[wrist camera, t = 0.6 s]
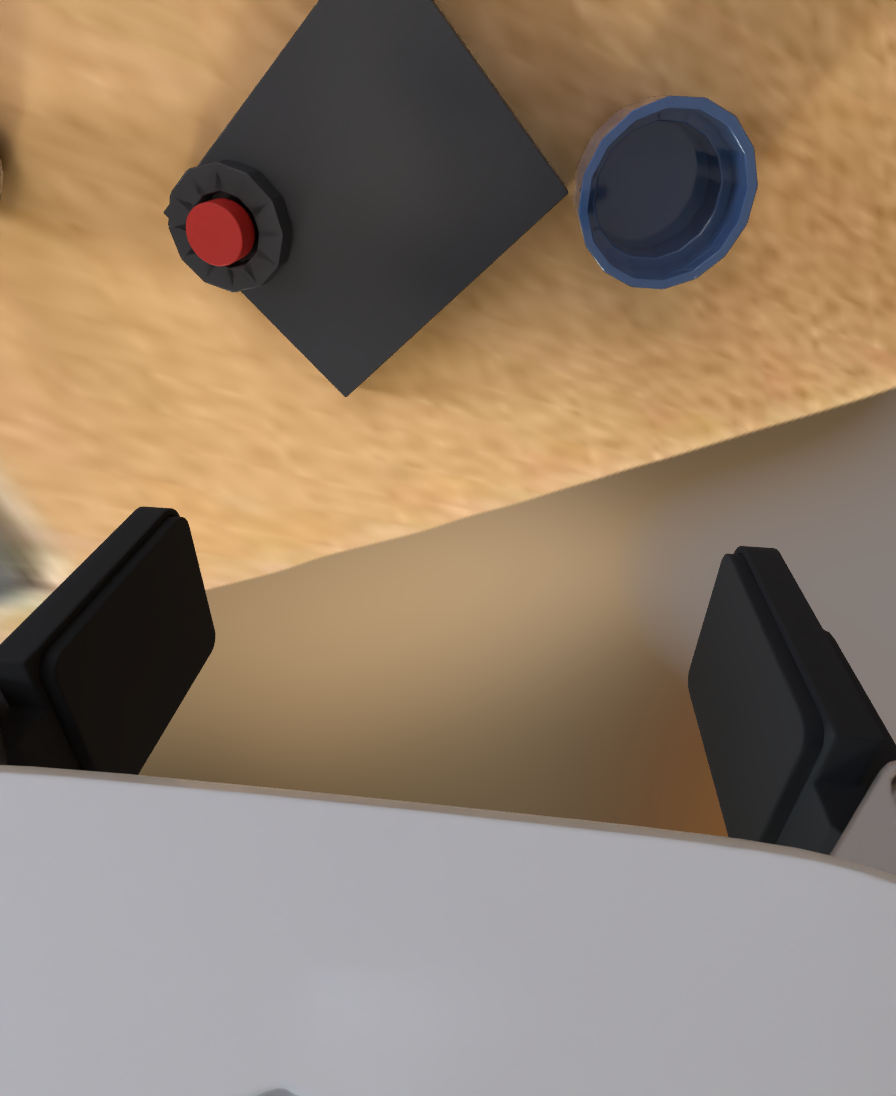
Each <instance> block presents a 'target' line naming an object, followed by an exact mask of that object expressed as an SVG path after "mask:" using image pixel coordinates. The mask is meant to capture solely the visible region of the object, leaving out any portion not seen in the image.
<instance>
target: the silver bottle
mask: <svg viewBox="0 0 896 1096" xmlns="http://www.w3.org/2000/svg"><path fill="white" fill-rule="evenodd" d="M2 189H3V169H2V163H1V159H0V199H1V194H2Z"/></svg>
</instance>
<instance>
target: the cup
mask: <svg viewBox="0 0 896 1096" xmlns="http://www.w3.org/2000/svg"><path fill="white" fill-rule="evenodd" d="M757 185H758V183H757V172H756V161H755V150H754V146H753V145H752V143H751V141H750V139H749V138H748V136H747V134H746V132H745V131H744V129H743V127H742V125H741V124H740V122H739V120H738V118H737V117H736V116H735V115H733V114H732V113H730V112H729V111H727V110H725V109H724V108H722V107H721V106H719V105H717V104H716V103H714V102H712V101H711V100H709V99H708V98H705V97H688V96H653V97H648V98H646V99H643V100H641V101H638V102H636V103H633V104H631V105H628V106H626V107H623V108H621V109H620V110H618V111H617V112H616V113H615V114H613V115H612V116H611V117H610V118H609V119H608V120H607V121H606V122H605V123H604V124H603V125H602V126H601V127H600V128H599V129H598V130H597V131H596V132H595V133H594V134H593V135H592V137H591V139H590V141H589V143H588V145H587V147H586V149H585V151H584V153H583V155H582V157H581V159H580V161H579V163H578V166H577V169H576V177H575V184H574V191H573V203H574V208H575V212H576V217H577V221H578V226H579V229H580V232H581V234H582V238H583V240H584V243H585V245H586V248H587V249H588V250H589V252H590V253H591V255H592V256H593V257H594V259H595V260H596V261H597V263H598V264H599V266H600V267H601V268H602V270H603V271H604V272H605V273H607V274H609V275H610V276H612V277H614V278H616V279H618V280H619V281H621V282H623V283H625V284H627V285H628V286H630V287H631V286H632V287H638V288H651V289H666V288H669V287H672V286H675V285H678V284H681V283H684V282H687V281H691V280H694V279H695V278H697V277H699V276H700V275H701V274H703V273H704V272H705V271H707V270H708V269H709V268H711V267H712V266H713V265H714V264H716V263H717V262H718V261H720V260H721V259H722V258H724V257H725V255H726V254H727V253H728V251H729V250H730V248H731V247H732V245H733V244H734V243H735V241H736V240H737V238H738V237H739V235H740V234H741V232H742V231H743V229H744V228H745V226H746V225H747V223H748V219H749V216H750V212H751V208H752V205H753V201H754V198H755V194H756V190H757Z"/></svg>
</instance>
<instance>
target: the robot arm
mask: <svg viewBox="0 0 896 1096" xmlns="http://www.w3.org/2000/svg"><path fill="white" fill-rule="evenodd" d="M214 643H215V629H214V626H213V621H212V617H211V613H210V609H209V605H208V601H207V597H206V593H205V589H204V584H203V580H202V576H201V572H200V568H199V564H198V560H197V556H196V552H195V548H194V544H193V540H192V535H191V531H190V527H189V524H188V521H187V520H186V519H185V518H183V517H180V516H179V514H178V513H177V511H176V510H174V509H171V508H156V507H139V508H138V509H136V510H135V511H134V512H133V513H132V514H131V515H130V516H129V517H128V518H127V519H126V520H125V521H124V522H123V523H122V524H121V525H120V526H119V527H118V528H117V529H116V530H115V531H114V532H113V533H112V534H111V535H110V536H109V537H108V538H107V539H106V540H105V541H104V542H103V543H102V544H101V545H100V546H99V547H98V548H97V549H96V550H95V551H94V552H93V553H92V554H91V555H90V556H89V557H88V558H87V559H86V560H85V561H84V562H83V563H82V564H81V565H80V566H79V567H78V568H77V569H76V570H75V571H74V572H73V573H72V574H71V575H70V576H69V577H68V578H67V579H66V580H65V581H64V582H63V583H62V584H61V585H60V586H59V587H58V588H57V589H56V590H55V591H54V592H53V593H52V594H51V595H50V596H49V597H48V598H47V599H46V600H45V601H44V602H43V603H42V604H41V605H40V606H39V607H38V608H37V609H36V610H35V611H34V612H33V613H32V614H31V615H30V616H29V617H27V618H26V619H25V620H24V621H23V622H22V623H21V624H20V625H19V626H18V627H17V628H16V629H15V630H14V631H13V632H12V633H11V634H10V635H9V636H8V637H7V638H6V639H5V640H4V641H3V642H2V643H1V644H0V1096H896V744H895V743H894V741H893V739H892V738H891V736H890V734H889V733H888V731H887V729H886V727H885V725H884V724H883V722H882V720H881V719H880V717H879V715H878V713H877V712H876V710H875V708H874V706H873V705H872V703H871V701H870V699H869V698H868V696H867V694H866V693H865V691H864V689H863V687H862V686H861V684H860V682H859V680H858V679H857V677H856V675H855V673H854V672H853V670H852V668H851V667H850V665H849V663H848V661H847V660H846V658H845V656H844V655H843V653H842V651H841V649H840V648H839V646H838V644H837V642H836V641H835V639H834V638H833V637H832V635H831V634H830V633H829V632H827V631H825V630H823V628H822V627H821V625H820V623H819V621H818V620H817V618H816V616H815V614H814V613H813V611H812V609H811V607H810V606H809V604H808V602H807V600H806V598H805V597H804V595H803V593H802V591H801V590H800V588H799V586H798V584H797V583H796V581H795V579H794V578H793V575H792V574H791V572H790V570H789V569H788V567H787V565H786V563H785V561H784V560H783V558H782V556H781V554H780V553H779V551H778V550H777V549H774V548H762V547H747V546H740V547H738V548H737V549H736V550H735V552H734V554H725V555H724V557H723V559H722V562H721V564H720V568H719V572H718V575H717V578H716V581H715V586H714V588H713V592H712V595H711V598H710V602H709V605H708V608H707V612H706V615H705V619H704V622H703V625H702V629H701V632H700V636H699V639H698V643H697V646H696V650H695V652H694V656H693V659H692V663H691V666H690V670H689V675H688V688H689V693H690V697H691V700H692V704H693V708H694V712H695V715H696V718H697V723H698V726H699V730H700V734H701V737H702V741H703V744H704V748H705V752H706V756H707V759H708V763H709V766H710V770H711V774H712V777H713V781H714V785H715V789H716V791H717V796H718V799H719V803H720V807H721V811H722V814H723V818H724V822H725V825H726V829H727V833H728V837H722V836H714V835H706V834H698V833H690V832H681V831H673V830H665V829H657V828H648V827H641V826H632V825H624V824H614V823H605V822H595V821H586V820H576V819H567V818H558V817H549V816H539V815H530V814H521V813H512V812H502V811H493V810H484V809H474V808H465V807H455V806H445V805H436V804H426V803H416V802H407V801H397V800H387V799H377V798H368V797H357V796H348V795H338V794H328V793H317V792H307V791H298V790H288V789H279V788H278V789H277V788H268V787H258V786H247V785H237V784H226V783H216V782H206V781H195V780H185V779H174V778H164V777H153V776H143V775H138V774H139V772H140V771H141V769H142V767H143V765H144V764H145V762H146V760H147V759H148V757H149V755H150V754H151V752H152V751H153V749H154V747H155V745H156V744H157V742H158V740H159V739H160V737H161V735H162V734H163V732H164V730H165V729H166V727H167V725H168V723H169V722H170V720H171V719H172V717H173V715H174V714H175V712H176V710H177V709H178V707H179V705H180V704H181V702H182V700H183V699H184V697H185V695H186V694H187V692H188V690H189V689H190V687H191V685H192V683H193V682H194V680H195V679H196V677H197V675H198V674H199V672H200V670H201V669H202V667H203V665H204V664H205V662H206V660H207V658H208V657H209V655H210V654H211V652H212V650H213V647H214Z"/></svg>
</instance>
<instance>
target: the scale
mask: <svg viewBox="0 0 896 1096" xmlns="http://www.w3.org/2000/svg"><path fill="white" fill-rule="evenodd" d="M567 194H568V190H567V188H566V186H565V185H564V184H563V182H562V181H561V179H560V178H559V177H558V175H557V174H556V172H555V171H554V169H553V168H552V167H551V165H550V164H549V162H548V161H547V160H546V158H545V157H544V155H543V154H542V153H541V151H540V150H539V148H538V147H537V146H536V144H535V143H534V141H533V140H532V138H531V137H530V136H529V134H528V133H527V131H526V130H525V129H524V127H523V126H522V124H521V123H520V122H519V120H518V119H517V117H516V116H515V115H514V113H513V112H512V110H511V109H510V107H509V106H508V105H507V103H506V102H505V100H504V99H503V98H502V96H501V95H500V93H499V92H498V91H497V89H496V88H495V86H494V85H493V84H492V82H491V81H490V79H489V78H488V76H487V75H486V74H485V72H484V71H483V69H482V68H481V67H480V65H479V64H478V62H477V61H476V60H475V58H474V57H473V55H472V54H471V53H470V51H469V50H468V48H467V47H466V45H465V44H464V43H463V41H462V40H461V38H460V37H459V36H458V34H457V33H456V31H455V30H454V29H453V27H452V26H451V24H450V23H449V22H448V20H447V19H446V17H445V16H444V14H443V13H442V12H441V10H440V9H439V7H438V6H437V5H436V3H435V2H434V0H319V1H318V2H317V4H316V5H315V7H314V8H313V9H312V11H311V12H310V13H309V15H308V16H307V17H306V19H305V20H304V22H303V23H302V24H301V26H300V27H299V28H298V30H297V31H296V32H295V34H294V35H293V37H292V38H291V39H290V41H289V42H288V43H287V45H286V46H285V47H284V49H283V50H282V52H281V53H280V54H279V56H278V57H277V58H276V60H275V61H274V62H273V64H272V65H271V67H270V68H269V69H268V71H267V72H266V73H265V75H264V76H263V77H262V79H261V80H260V82H259V83H258V84H257V86H256V87H255V88H254V90H253V91H252V92H251V94H250V95H249V97H248V98H247V99H246V101H245V102H244V103H243V105H242V106H241V107H240V109H239V110H238V112H237V113H236V114H235V116H234V117H233V118H232V120H231V121H230V122H229V124H228V125H227V127H226V128H225V129H224V131H223V132H222V133H221V135H220V136H219V137H218V139H217V140H216V142H215V143H214V144H213V146H212V147H211V148H210V150H209V151H208V152H207V154H206V155H205V157H204V158H203V159H202V161H201V162H200V163H199V165H198V166H197V167H194V168H190V169H188V170H187V171H186V172H185V174H184V175H183V176H182V178H181V179H180V181H179V182H178V183H177V185H176V186H175V187H174V189H173V190H172V192H171V194H170V204H169V206H168V207H167V208H166V210H165V211H164V214H165V215H166V216H167V217H168V218H169V222H168V225H169V230H170V232H171V235H172V237H173V240H174V242H175V245H176V247H177V249H178V252H179V254H180V257H181V258H182V260H183V261H184V262H185V263H186V264H187V265H188V266H189V267H190V268H191V269H192V270H193V271H194V272H195V273H196V274H197V275H198V276H199V277H200V278H201V279H202V280H203V281H204V282H206V283H208V284H211V285H214V286H217V287H220V288H222V289H225V290H228V291H231V292H239V291H241V292H242V293H243V294H244V295H245V296H246V297H247V298H248V299H249V300H250V301H251V302H252V303H253V304H254V305H255V306H256V307H257V308H258V309H259V310H260V311H261V312H262V313H263V314H264V315H265V316H266V317H267V318H268V319H269V320H270V321H271V322H272V323H273V324H274V325H275V326H276V327H277V328H278V329H279V330H280V332H281V333H282V334H283V335H284V336H285V337H286V338H287V339H288V340H289V341H290V342H291V343H292V344H293V345H294V346H295V347H296V348H297V349H298V350H299V351H300V352H301V353H302V354H303V355H304V356H305V357H306V358H307V359H308V360H309V361H310V362H311V363H312V364H313V365H314V366H315V367H316V368H317V369H318V370H319V371H320V372H321V373H322V374H323V375H324V376H325V377H326V378H327V379H328V380H329V381H330V382H331V383H332V384H333V385H334V386H335V387H336V388H337V389H338V390H339V391H340V392H341V393H342V394H343V395H344V396H345V397H347V396H348V395H349V394H350V393H351V392H353V391H354V390H355V389H356V388H357V387H358V386H359V385H360V384H361V383H362V382H363V381H364V380H366V379H367V378H368V377H369V376H370V375H371V374H372V373H373V372H374V371H375V370H376V369H378V368H379V367H380V366H381V365H382V364H383V363H384V362H385V361H386V360H387V359H388V358H390V357H391V356H392V355H393V354H394V353H395V352H396V351H397V350H398V349H399V348H400V347H401V346H403V345H404V344H405V343H406V342H407V341H408V340H409V339H410V338H411V337H412V336H413V335H415V334H416V333H417V332H418V331H419V330H420V329H421V328H422V327H423V326H424V325H425V324H427V323H428V322H429V321H430V320H431V319H432V318H433V317H434V316H435V315H436V314H437V313H438V312H440V311H441V310H442V309H443V308H444V307H445V306H446V305H447V304H448V303H449V302H450V301H452V300H453V299H454V298H455V297H456V296H457V295H458V294H459V293H460V292H461V291H462V290H463V289H465V288H466V287H467V286H468V285H469V284H470V283H471V282H472V281H473V280H474V279H475V278H477V277H478V276H479V275H480V274H481V273H482V272H483V271H484V270H485V269H486V268H487V267H489V266H490V265H491V264H492V263H493V262H494V261H495V260H496V259H497V258H498V257H499V256H500V255H502V254H503V253H504V252H505V251H506V250H507V249H508V248H509V247H510V246H511V245H512V244H514V243H515V242H516V241H517V240H518V239H519V238H520V237H521V236H522V235H523V234H524V233H526V232H527V231H528V230H529V229H530V228H531V227H532V226H533V225H534V224H535V223H536V222H537V221H539V220H540V219H541V218H542V217H543V216H544V215H545V214H546V213H547V212H548V211H549V210H551V209H552V208H553V207H554V206H555V205H556V204H557V203H558V202H559V201H560V200H561V199H562V198H564V197H565V196H566V195H567ZM217 198H226V199H230V200H232V201H234V202H236V203H238V204H239V205H240V206H242V207H243V208H244V209H245V211H246V212H247V213H248V215H249V216H250V218H251V220H252V223H253V226H254V231H255V240H254V244H253V247H252V249H251V251H250V252H249V253H248V254H247V255H246V256H245V257H243V258H241V259H239V260H237V261H236V262H234V263H232V264H230V265H227V266H215V265H211V264H209V263H207V262H205V261H204V260H202V259H201V258H200V257H199V256H198V255H197V254H196V253H195V252H194V250H193V249H192V247H191V246H190V244H189V241H188V238H187V235H186V220H187V217H188V215H189V213H190V211H191V210H192V209H193V208H194V207H195V206H196V205H198V204H201V203H204V202H207V201H210V200H213V199H217Z"/></svg>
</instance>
